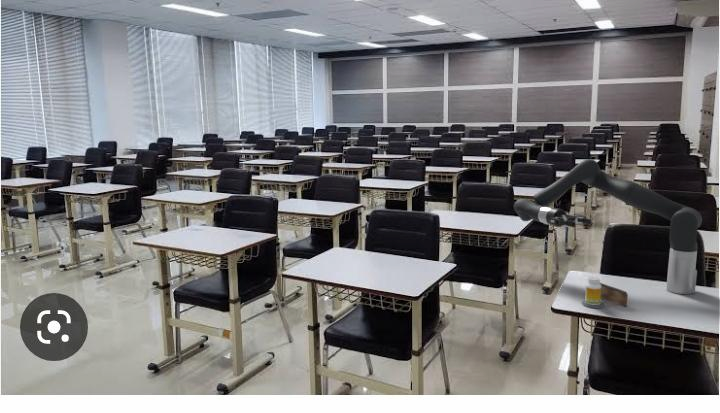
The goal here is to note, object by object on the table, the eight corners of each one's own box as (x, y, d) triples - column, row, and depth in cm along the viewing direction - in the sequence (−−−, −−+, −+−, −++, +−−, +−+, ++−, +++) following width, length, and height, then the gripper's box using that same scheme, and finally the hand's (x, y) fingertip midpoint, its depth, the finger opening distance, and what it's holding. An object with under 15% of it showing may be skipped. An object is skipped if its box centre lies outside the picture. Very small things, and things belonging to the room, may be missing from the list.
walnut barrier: (594, 295, 214) (595, 281, 213) (596, 295, 215) (597, 281, 214) (625, 307, 202) (626, 292, 201) (627, 306, 202) (628, 291, 201)
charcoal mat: (602, 301, 207) (603, 300, 207) (606, 309, 200) (607, 307, 200) (580, 300, 209) (580, 298, 209) (583, 307, 202) (583, 306, 201)
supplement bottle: (602, 305, 201) (603, 280, 200) (586, 305, 202) (587, 280, 201) (598, 300, 206) (599, 276, 205) (583, 300, 207) (584, 275, 206)
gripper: (539, 209, 225) (570, 216, 210) (564, 205, 231) (596, 212, 217) (538, 227, 226) (569, 234, 212) (563, 223, 232) (595, 230, 218)
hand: (582, 223), depth 214 cm, fingers open, 8 cm apart
